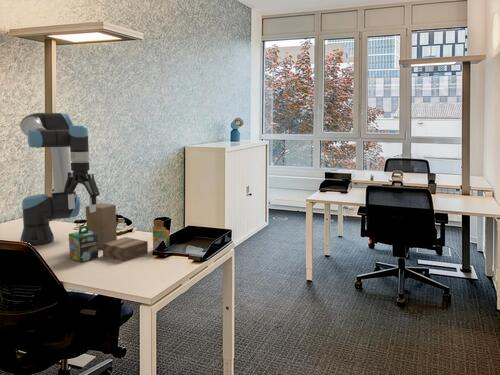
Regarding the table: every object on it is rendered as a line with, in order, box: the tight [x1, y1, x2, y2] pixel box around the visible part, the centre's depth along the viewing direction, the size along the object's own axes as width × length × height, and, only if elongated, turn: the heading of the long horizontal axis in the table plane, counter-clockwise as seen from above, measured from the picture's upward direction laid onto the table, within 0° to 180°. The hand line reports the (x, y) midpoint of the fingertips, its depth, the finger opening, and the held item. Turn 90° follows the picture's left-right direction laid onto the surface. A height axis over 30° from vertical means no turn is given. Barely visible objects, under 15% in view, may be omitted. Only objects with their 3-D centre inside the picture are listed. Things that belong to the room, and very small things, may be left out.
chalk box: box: [68, 225, 99, 263], centre depth 201 cm, size 9×9×15 cm
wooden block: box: [85, 202, 118, 250], centre depth 221 cm, size 10×10×20 cm
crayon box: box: [152, 226, 170, 251], centre depth 215 cm, size 7×3×12 cm, turn 70°
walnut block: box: [102, 236, 149, 262], centre depth 208 cm, size 14×14×6 cm
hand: (82, 210), depth 199 cm, fingers open, 13 cm apart
